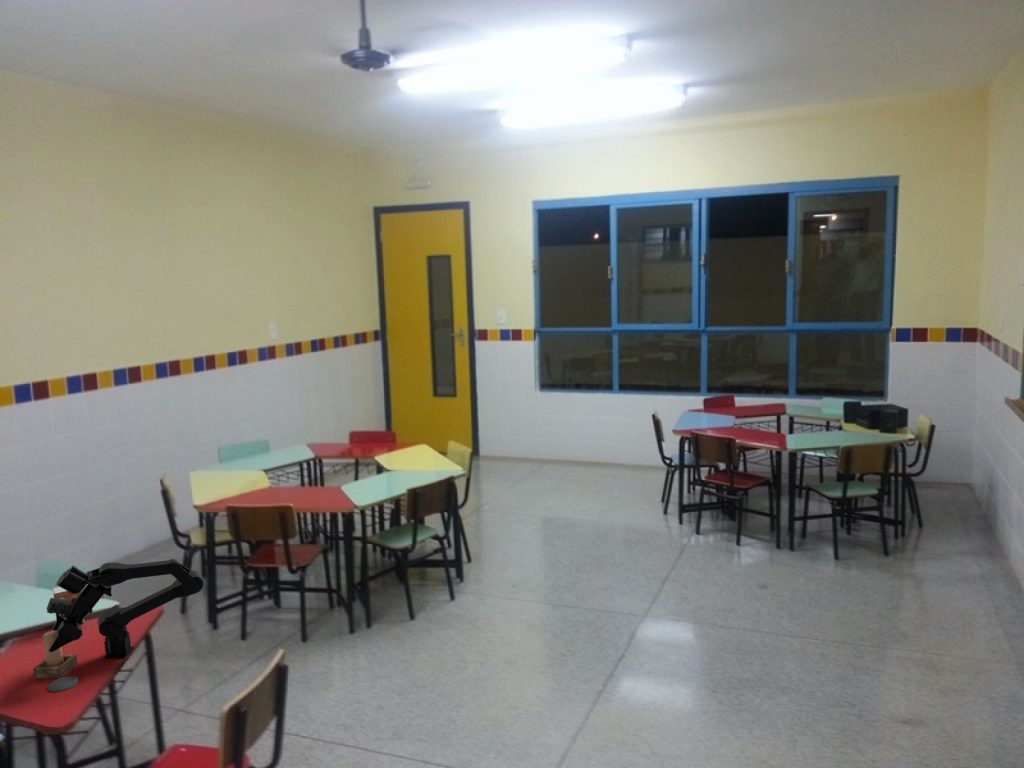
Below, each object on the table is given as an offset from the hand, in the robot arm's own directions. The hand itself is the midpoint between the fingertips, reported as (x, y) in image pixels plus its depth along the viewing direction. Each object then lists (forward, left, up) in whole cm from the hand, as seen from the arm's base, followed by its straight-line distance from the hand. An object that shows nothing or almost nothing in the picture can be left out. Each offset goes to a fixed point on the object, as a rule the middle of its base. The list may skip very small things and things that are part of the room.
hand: (49, 645), depth 228 cm
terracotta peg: (-1, -1, -8) cm, 9 cm away
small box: (+15, -33, -9) cm, 37 cm away
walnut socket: (-1, -1, -8) cm, 9 cm away
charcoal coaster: (-8, +7, -8) cm, 14 cm away
